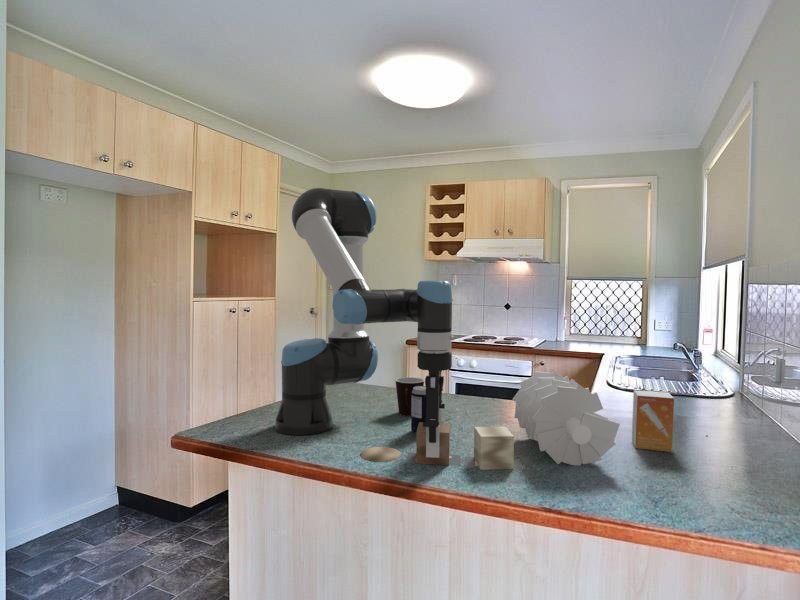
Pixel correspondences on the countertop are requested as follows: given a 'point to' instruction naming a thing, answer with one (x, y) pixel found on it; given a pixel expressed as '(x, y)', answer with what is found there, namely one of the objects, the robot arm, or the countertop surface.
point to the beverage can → (418, 407)
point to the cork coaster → (380, 454)
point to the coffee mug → (406, 393)
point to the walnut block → (443, 445)
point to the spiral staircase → (564, 418)
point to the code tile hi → (472, 463)
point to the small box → (652, 420)
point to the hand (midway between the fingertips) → (434, 446)
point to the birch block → (493, 448)
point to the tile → (452, 459)
